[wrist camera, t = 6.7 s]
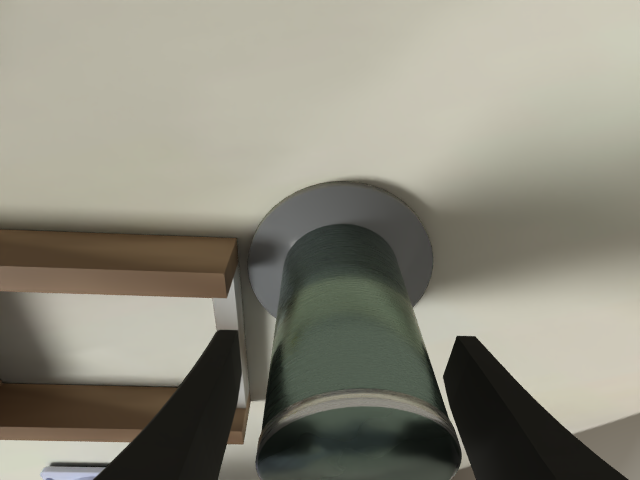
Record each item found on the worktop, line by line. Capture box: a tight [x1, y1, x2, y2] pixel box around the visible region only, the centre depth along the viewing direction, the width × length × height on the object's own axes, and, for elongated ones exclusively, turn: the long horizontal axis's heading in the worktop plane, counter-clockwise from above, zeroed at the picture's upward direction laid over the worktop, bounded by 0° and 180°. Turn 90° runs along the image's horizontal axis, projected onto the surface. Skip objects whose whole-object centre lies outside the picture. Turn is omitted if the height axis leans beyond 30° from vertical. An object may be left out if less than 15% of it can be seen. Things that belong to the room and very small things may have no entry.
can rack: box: [0, 229, 250, 444], centre depth 17 cm, size 11×15×4 cm
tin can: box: [256, 224, 462, 480], centre depth 13 cm, size 5×5×8 cm
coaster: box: [248, 182, 433, 318], centre depth 16 cm, size 8×8×1 cm
